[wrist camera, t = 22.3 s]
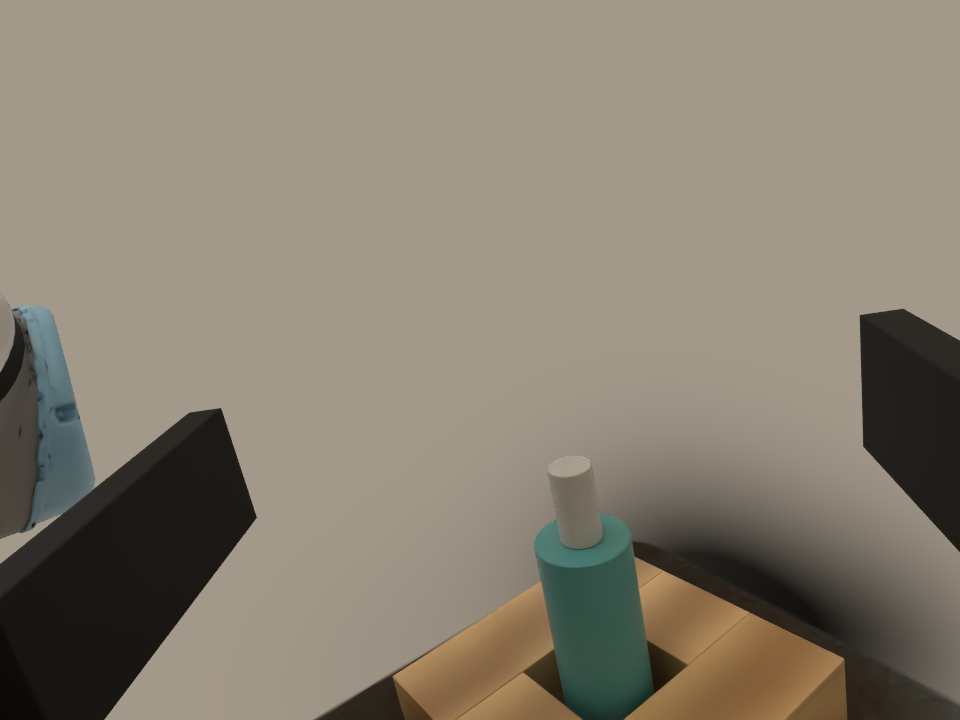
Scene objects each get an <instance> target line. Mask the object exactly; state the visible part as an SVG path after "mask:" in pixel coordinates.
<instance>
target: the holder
mask: <svg viewBox="0 0 960 720" xmlns="http://www.w3.org/2000/svg"><path fill="white" fill-rule="evenodd" d="M634 559H635V565H636V572H637V579H638V585H639V592H640V599H641V606H642V612H643V619H644V626H645V632H646V639H647V646H648V652H649V659H650V666H651V672H652V679H653V686H654V693H655V694H654V695H652V696H651V697H650V698H649V699H648V700H646V701H645V702H644V703H643V704H642V705H641V706H639V707H638V708H637V709H636V710H635V711H633V712H632V713H631V714H630V715H629V716H627V717H626V718H625V719H624V720H847V704H846V684H845V663H844V659H843V658H842V657H840V656H837V655H835V654H833V653H831V652H829V651H827V650H825V649H823V648H821V647H819V646H817V645H815V644H813V643H811V642H809V641H806V640H804V639H802V638H800V637H798V636H796V635H794V634H792V633H790V632H788V631H786V630H784V629H782V628H780V627H778V626H776V625H773V624H771V623H769V622H767V621H765V620H763V619H761V618H759V617H757V616H755V615H753V614H750V613H749V612H747V611H745V610H743V609H741V608H739V607H737V606H735V605H733V604H731V603H729V602H727V601H725V600H722V599H720V598H718V597H716V596H714V595H712V594H710V593H708V592H706V591H704V590H702V589H700V588H698V587H696V586H694V585H691V584H689V583H687V582H685V581H683V580H681V579H679V578H677V577H675V576H673V575H671V574H669V573H667V572H665V571H663V570H661V569H659V568H656V567H654V566H652V565H650V564H648V563H646V562H644V561H642V560H640V559H638V558H636V557H634ZM393 680H394V684H395V687H396V691H397V694H398V698H399V701H400V705H401V709H402V712H403V716H404V719H405V720H583V719H581V718H580V717H579V716H578V715H576V714H575V713H574V712H573V711H571V710H570V709H569V708H568V707H566V706H565V701H564V696H563V691H562V686H561V681H560V676H559V670H558V665H557V660H556V655H555V650H554V645H553V640H552V635H551V630H550V625H549V620H548V615H547V610H546V605H545V599H544V594H543V589H542V584H541V582H539V583H538V584H536V585H534V586H533V587H531V588H530V589H528V590H527V591H525V592H523V593H522V594H520V595H519V596H517V597H516V598H514V599H513V600H511V601H509V602H508V603H506V604H505V605H503V606H502V607H500V608H498V609H497V610H495V611H494V612H492V613H491V614H489V615H488V616H486V617H484V618H483V619H481V620H480V621H478V622H477V623H475V624H474V625H472V626H470V627H469V628H467V629H466V630H464V631H463V632H461V633H459V634H458V635H456V636H455V637H453V638H452V639H450V640H449V641H447V642H445V643H444V644H442V645H441V646H439V647H438V648H436V649H435V650H433V651H431V652H430V653H428V654H427V655H425V656H424V657H422V658H420V659H419V660H417V661H416V662H414V663H413V664H411V665H410V666H408V667H406V668H405V669H403V670H402V671H400V672H399V673H397V674H396V675H394V676H393Z"/></svg>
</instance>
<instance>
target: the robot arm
mask: <svg viewBox="0 0 960 720" xmlns="http://www.w3.org/2000/svg"><path fill="white" fill-rule="evenodd" d="M860 338H861V339H860V342H861V378H862V413H863V447H864V448H865V449H866V450H867V451H868V452H869V453H870V454H871V455H872V456H873V457H874V458H875V460H876V461H877V462H878V463H879V464H880V465H881V466H882V467H883V468H884V469H885V471H886V472H887V473H888V474H889V475H890V476H891V477H892V478H893V479H894V481H895V482H896V483H897V484H898V485H899V486H900V487H901V488H902V489H903V490H904V491H905V493H906V494H907V495H908V496H909V497H910V498H911V499H912V500H913V501H914V502H915V503H916V505H917V506H918V507H919V508H920V509H921V510H922V511H923V512H924V513H925V514H926V515H927V517H928V518H929V519H930V520H931V521H932V522H933V523H934V524H935V525H936V526H937V528H938V529H939V530H940V531H941V532H942V533H943V534H944V535H945V536H946V537H947V539H948V540H950V542H951V543H952V544H953V545H954V546H955V547H956V548H957V549H958V550H959V552H960V341H959V340H957V339H956V338H954V337H952V336H951V335H949V334H947V333H945V332H943V331H942V330H940V329H938V328H936V327H935V326H933V325H931V324H929V323H927V322H926V321H924V320H922V319H920V318H919V317H917V316H915V315H913V314H911V313H910V312H908V311H906V310H905V309H899V310H892V311H885V312H878V313H871V314H865V315H860ZM76 405H77V404H76V400H75V397H74V393H73V389H72V385H71V381H70V377H69V373H68V369H67V365H66V361H65V358H64V354H63V350H62V346H61V342H60V338H59V335H58V331H57V327H56V324H55V320H54V316H53V314H52V313H51V312H50V310H48V309H46V308H43V307H40V306H36V307H26V306H23V305H22V306H19V307H14V308H13V309H11V308H10V306H9V305H8V303H7V301H6V300H5V299H4V297H3V296H2V295H1V293H0V539H1V538H4V537H6V536H10V535H12V534H15V533H18V532H20V533H23V532H26V531H30V530H31V529H33V528H34V527H35V526H36V525H37V524H38V523H40V522H42V521H45V520H48V519H50V518H52V517H55V516H57V515H60V514H62V513H63V514H62V515H61V516H60V517H59V518H57V519H56V520H55V521H53V522H52V523H51V524H50V525H48V527H46V528H45V529H44V530H42V531H41V532H40V533H38V534H37V535H36V536H35V537H34V538H32V539H31V540H30V541H28V542H27V543H26V544H25V545H24V546H22V547H21V548H20V549H18V550H17V551H16V552H15V553H14V554H12V555H11V556H10V557H8V558H7V559H6V560H5V561H3V562H2V563H1V564H0V720H104V719H105V718H106V717H107V715H108V714H109V713H110V711H111V710H112V709H113V707H114V706H115V705H116V703H117V702H118V701H119V700H120V698H121V697H122V696H123V694H124V693H125V692H126V690H127V689H128V688H129V686H130V685H131V684H132V682H133V681H134V680H135V678H136V677H137V676H138V674H139V673H140V672H141V670H142V669H143V668H144V666H145V665H146V664H147V662H148V661H149V660H150V658H151V657H152V656H153V654H154V653H155V652H156V651H157V649H158V648H159V647H160V645H161V644H162V642H163V641H164V640H165V639H166V637H167V636H168V635H169V633H170V632H171V631H172V629H173V628H174V627H175V625H176V624H177V623H178V621H179V620H180V619H181V617H182V616H183V615H184V613H185V612H186V611H187V609H188V608H189V607H190V605H191V604H192V603H193V601H194V600H195V599H196V597H197V596H198V595H199V593H200V592H201V591H202V590H203V588H204V587H205V586H206V584H207V583H208V582H209V580H210V579H211V578H212V576H213V575H214V574H215V572H216V571H217V570H218V568H219V567H220V566H221V564H222V563H223V562H224V560H225V559H226V558H227V556H228V555H229V554H230V552H231V551H232V550H233V549H234V547H235V546H236V544H237V543H238V542H239V541H240V539H241V538H242V536H243V535H244V534H245V533H246V531H247V530H248V529H249V527H250V526H251V525H252V523H253V522H254V521H255V519H256V518H257V517H256V514H255V511H254V508H253V505H252V501H251V498H250V496H249V492H248V489H247V486H246V483H245V480H244V477H243V474H242V471H241V468H240V465H239V462H238V459H237V456H236V452H235V449H234V447H233V443H232V440H231V437H230V434H229V432H228V428H227V425H226V422H225V419H224V416H223V413H222V410H221V408H219V409H212V410H205V411H198V412H191V413H188V414H187V415H186V416H185V417H183V418H182V419H181V420H180V421H178V422H177V423H176V424H175V425H173V426H172V427H171V428H170V429H168V430H167V431H166V432H165V433H163V434H162V435H161V436H160V437H158V438H157V439H156V440H155V441H153V442H152V443H151V444H150V445H148V446H147V447H146V448H145V449H143V450H142V451H141V452H140V453H139V454H137V455H136V456H135V457H133V458H132V459H131V460H130V461H128V462H127V463H126V464H125V465H123V466H122V467H121V468H120V469H118V470H117V471H116V472H115V473H113V474H112V475H111V476H110V477H108V478H107V479H106V480H105V481H103V482H102V483H101V484H100V485H98V486H97V487H96V488H95V489H93V488H94V481H95V476H94V471H93V467H92V463H91V459H90V455H89V451H88V447H87V443H86V439H85V435H84V432H83V428H82V425H81V421H80V417H79V413H78V409H77V406H76Z"/></svg>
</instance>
